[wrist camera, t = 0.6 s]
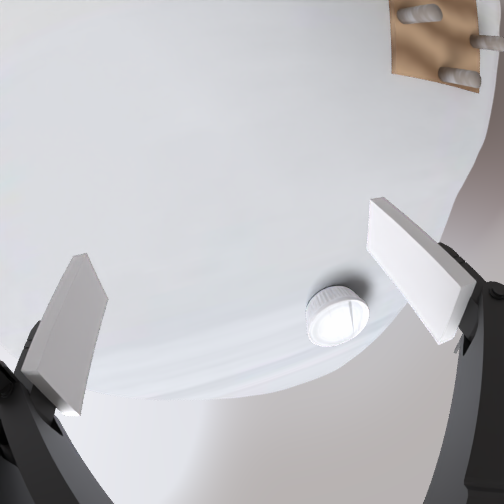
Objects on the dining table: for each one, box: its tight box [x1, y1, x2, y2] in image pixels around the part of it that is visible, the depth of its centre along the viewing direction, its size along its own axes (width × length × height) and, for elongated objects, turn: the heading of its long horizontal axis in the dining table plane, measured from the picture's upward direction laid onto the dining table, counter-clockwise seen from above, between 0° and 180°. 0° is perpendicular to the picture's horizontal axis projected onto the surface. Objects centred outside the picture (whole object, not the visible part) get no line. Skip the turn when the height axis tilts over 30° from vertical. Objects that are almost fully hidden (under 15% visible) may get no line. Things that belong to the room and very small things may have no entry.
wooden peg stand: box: [389, 0, 504, 93], centre depth 26 cm, size 18×18×8 cm
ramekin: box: [305, 286, 370, 347], centre depth 52 cm, size 11×11×5 cm
